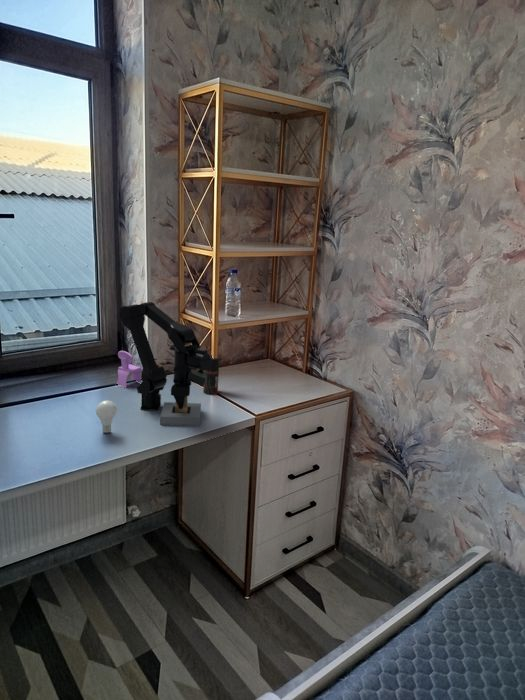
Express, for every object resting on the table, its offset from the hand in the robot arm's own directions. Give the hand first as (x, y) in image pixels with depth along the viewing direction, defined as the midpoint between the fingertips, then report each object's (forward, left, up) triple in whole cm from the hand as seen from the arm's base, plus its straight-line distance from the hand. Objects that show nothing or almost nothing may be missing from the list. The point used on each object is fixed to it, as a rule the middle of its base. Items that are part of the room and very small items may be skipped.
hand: (181, 405), depth 176 cm
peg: (0, 0, -5) cm, 5 cm away
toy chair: (-24, +33, -5) cm, 41 cm away
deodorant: (+10, +27, -5) cm, 29 cm away
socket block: (0, 0, -4) cm, 4 cm away
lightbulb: (-23, -14, -5) cm, 27 cm away
